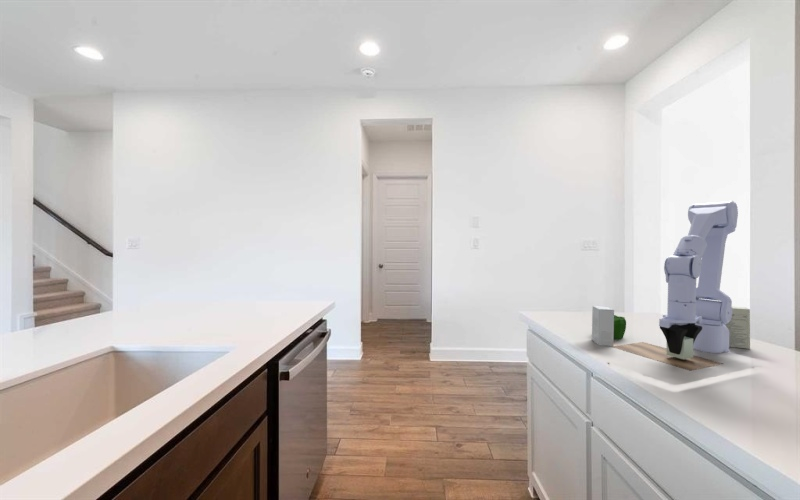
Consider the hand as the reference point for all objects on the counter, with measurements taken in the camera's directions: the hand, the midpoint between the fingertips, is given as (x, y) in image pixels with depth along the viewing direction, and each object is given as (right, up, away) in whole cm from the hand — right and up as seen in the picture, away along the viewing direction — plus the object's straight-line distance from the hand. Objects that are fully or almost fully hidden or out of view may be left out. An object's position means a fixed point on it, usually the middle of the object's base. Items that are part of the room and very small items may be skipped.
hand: (680, 352), depth 89 cm
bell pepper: (-5, -3, +22) cm, 23 cm away
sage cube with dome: (0, -1, 0) cm, 1 cm away
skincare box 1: (-12, -3, +15) cm, 19 cm away
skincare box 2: (+31, -3, +16) cm, 35 cm away
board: (-1, -3, +4) cm, 5 cm away
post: (0, -2, 0) cm, 2 cm away
